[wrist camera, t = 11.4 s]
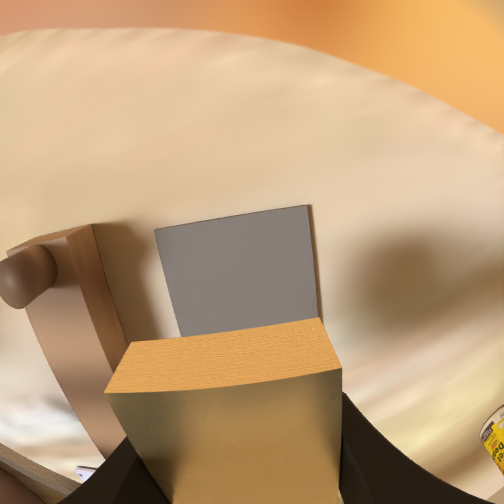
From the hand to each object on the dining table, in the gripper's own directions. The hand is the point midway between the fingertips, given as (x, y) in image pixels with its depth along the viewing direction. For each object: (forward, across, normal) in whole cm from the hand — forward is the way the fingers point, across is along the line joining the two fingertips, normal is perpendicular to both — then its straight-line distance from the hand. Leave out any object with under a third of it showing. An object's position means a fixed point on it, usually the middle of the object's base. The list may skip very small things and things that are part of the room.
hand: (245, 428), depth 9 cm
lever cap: (0, 0, 0) cm, 0 cm away
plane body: (+9, +10, +4) cm, 14 cm away
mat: (+9, 0, 0) cm, 9 cm away
